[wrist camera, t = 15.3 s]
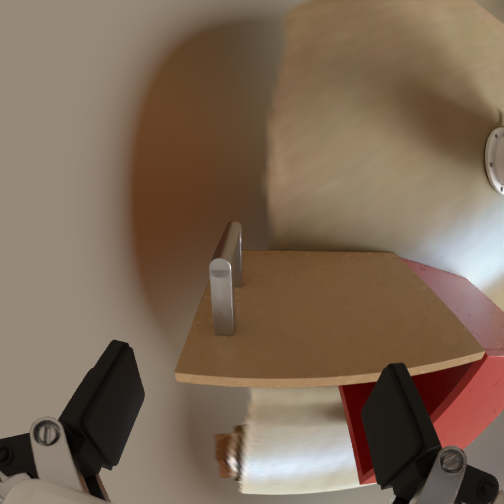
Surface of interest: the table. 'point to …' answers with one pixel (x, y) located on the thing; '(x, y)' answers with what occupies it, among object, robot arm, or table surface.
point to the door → (316, 320)
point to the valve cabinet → (446, 374)
